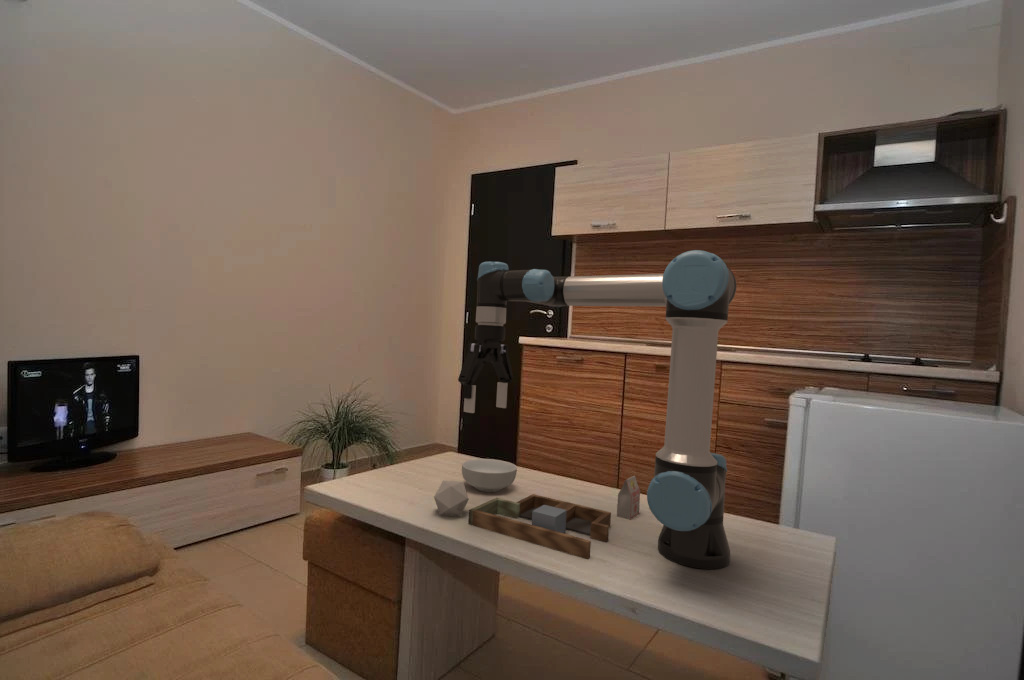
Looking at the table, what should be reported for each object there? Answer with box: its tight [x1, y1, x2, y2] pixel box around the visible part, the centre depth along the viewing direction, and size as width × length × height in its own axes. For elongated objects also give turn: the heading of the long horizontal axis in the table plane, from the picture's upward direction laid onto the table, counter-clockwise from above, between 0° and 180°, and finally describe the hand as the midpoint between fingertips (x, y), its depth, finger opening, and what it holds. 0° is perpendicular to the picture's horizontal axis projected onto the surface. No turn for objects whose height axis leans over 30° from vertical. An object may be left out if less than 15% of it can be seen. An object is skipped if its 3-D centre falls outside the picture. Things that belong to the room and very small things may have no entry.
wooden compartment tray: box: [467, 493, 612, 560], centre depth 124 cm, size 31×22×4 cm
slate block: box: [531, 505, 567, 534], centre depth 119 cm, size 6×6×6 cm
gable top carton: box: [616, 475, 641, 520], centre depth 136 cm, size 4×7×10 cm, turn 146°
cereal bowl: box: [461, 458, 518, 493], centre depth 154 cm, size 17×17×7 cm
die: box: [433, 480, 469, 517], centre depth 130 cm, size 8×9×10 cm
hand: (485, 410), depth 126 cm, fingers open, 13 cm apart
